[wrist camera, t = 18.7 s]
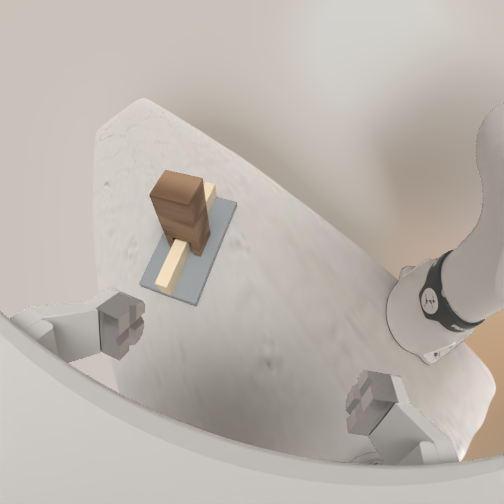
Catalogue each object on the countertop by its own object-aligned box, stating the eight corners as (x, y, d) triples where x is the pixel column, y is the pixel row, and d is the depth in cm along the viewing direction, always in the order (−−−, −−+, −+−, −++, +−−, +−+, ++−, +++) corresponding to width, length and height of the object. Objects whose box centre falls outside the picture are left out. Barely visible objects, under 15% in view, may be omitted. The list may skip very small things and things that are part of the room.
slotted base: (187, 193, 53) (184, 177, 49) (236, 206, 52) (236, 189, 48) (141, 286, 44) (132, 275, 40) (196, 306, 43) (191, 296, 39)
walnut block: (180, 225, 49) (165, 170, 36) (210, 234, 48) (202, 178, 36) (170, 247, 47) (149, 194, 34) (200, 256, 46) (188, 204, 34)
